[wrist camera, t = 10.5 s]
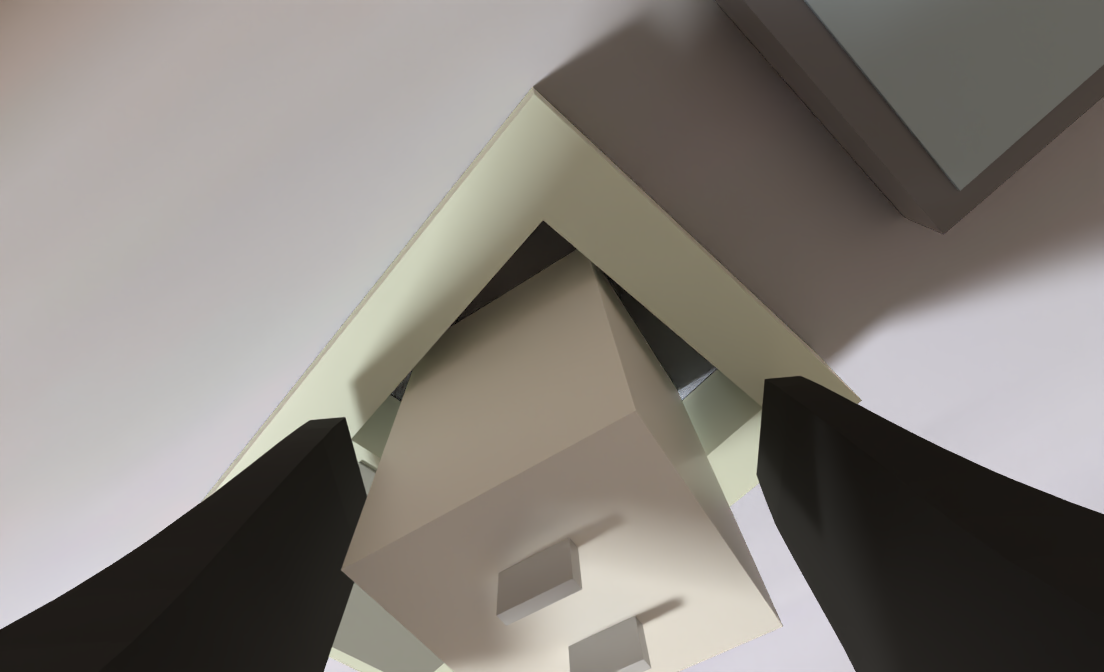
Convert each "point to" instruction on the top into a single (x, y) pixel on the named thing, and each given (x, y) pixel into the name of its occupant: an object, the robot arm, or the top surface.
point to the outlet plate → (465, 269)
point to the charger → (554, 498)
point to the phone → (935, 85)
